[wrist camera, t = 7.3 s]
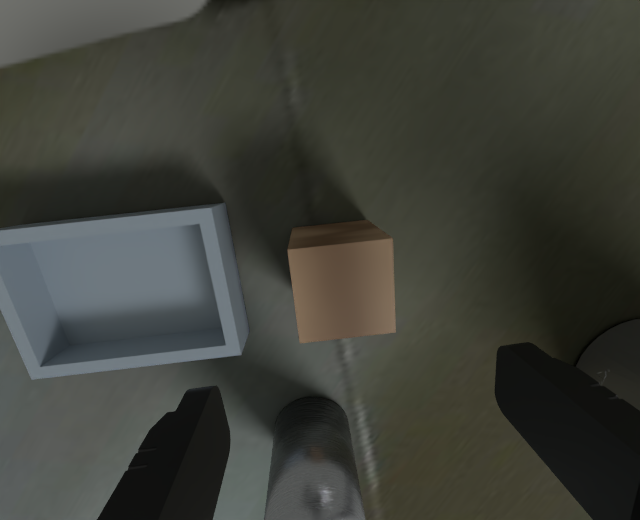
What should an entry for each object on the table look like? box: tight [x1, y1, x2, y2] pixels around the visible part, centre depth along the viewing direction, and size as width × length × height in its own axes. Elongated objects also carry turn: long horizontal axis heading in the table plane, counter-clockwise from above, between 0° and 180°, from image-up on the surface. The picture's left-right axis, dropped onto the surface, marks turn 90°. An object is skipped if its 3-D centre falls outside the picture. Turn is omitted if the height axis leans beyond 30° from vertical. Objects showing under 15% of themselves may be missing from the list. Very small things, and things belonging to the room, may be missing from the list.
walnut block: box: [287, 220, 396, 343], centre depth 18 cm, size 5×5×6 cm
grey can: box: [264, 397, 365, 520], centre depth 20 cm, size 6×6×8 cm
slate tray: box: [0, 203, 250, 380], centre depth 19 cm, size 13×9×3 cm
